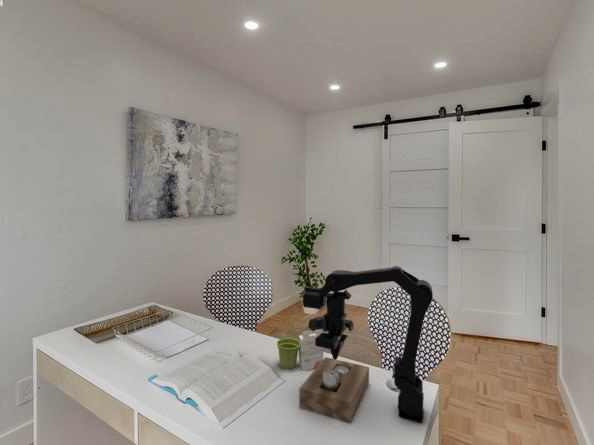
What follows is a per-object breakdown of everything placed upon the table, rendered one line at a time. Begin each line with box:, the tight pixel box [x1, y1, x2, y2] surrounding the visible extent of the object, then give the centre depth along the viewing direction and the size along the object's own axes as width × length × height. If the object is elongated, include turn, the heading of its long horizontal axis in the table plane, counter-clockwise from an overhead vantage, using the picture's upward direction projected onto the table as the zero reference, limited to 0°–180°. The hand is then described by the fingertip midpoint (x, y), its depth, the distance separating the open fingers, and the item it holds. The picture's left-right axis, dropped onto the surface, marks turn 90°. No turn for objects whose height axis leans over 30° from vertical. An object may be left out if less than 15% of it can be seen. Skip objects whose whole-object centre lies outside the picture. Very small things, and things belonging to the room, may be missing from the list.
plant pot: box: [276, 337, 300, 369], centre depth 121 cm, size 9×9×9 cm
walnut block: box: [298, 356, 370, 424], centre depth 102 cm, size 16×22×6 cm
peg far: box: [335, 366, 349, 375], centre depth 107 cm, size 5×5×6 cm
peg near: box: [323, 369, 339, 392], centre depth 97 cm, size 5×5×6 cm
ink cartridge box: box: [298, 329, 324, 372], centre depth 121 cm, size 9×5×15 cm, turn 107°
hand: (335, 358), depth 101 cm, fingers closed
